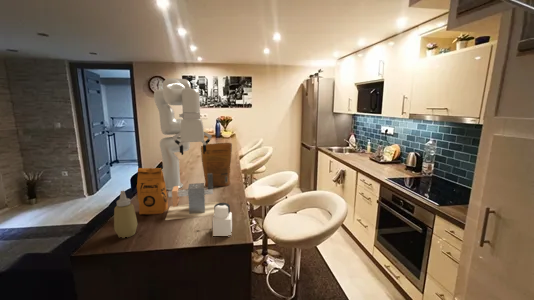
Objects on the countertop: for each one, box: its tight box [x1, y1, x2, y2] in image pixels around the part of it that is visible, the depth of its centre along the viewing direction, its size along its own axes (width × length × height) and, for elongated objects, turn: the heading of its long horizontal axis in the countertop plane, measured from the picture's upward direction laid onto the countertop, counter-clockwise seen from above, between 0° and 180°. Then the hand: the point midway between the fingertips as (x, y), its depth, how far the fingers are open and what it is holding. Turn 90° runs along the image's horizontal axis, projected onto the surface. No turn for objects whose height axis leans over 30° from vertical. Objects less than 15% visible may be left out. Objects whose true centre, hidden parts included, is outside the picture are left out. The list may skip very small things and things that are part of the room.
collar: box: [171, 186, 180, 207], centre depth 115 cm, size 7×2×7 cm, turn 14°
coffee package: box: [136, 167, 169, 216], centre depth 116 cm, size 10×12×22 cm
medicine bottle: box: [211, 202, 233, 237], centre depth 98 cm, size 7×7×12 cm
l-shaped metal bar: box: [167, 173, 214, 198], centre depth 116 cm, size 2×20×10 cm, turn 104°
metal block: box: [187, 182, 206, 214], centre depth 117 cm, size 8×7×12 cm
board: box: [164, 201, 220, 221], centre depth 118 cm, size 16×24×1 cm, turn 104°
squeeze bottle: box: [113, 190, 138, 239], centre depth 96 cm, size 8×8×18 cm
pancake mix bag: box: [200, 142, 233, 188], centre depth 155 cm, size 7×19×28 cm, turn 100°
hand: (193, 153), depth 114 cm, fingers open, 9 cm apart
